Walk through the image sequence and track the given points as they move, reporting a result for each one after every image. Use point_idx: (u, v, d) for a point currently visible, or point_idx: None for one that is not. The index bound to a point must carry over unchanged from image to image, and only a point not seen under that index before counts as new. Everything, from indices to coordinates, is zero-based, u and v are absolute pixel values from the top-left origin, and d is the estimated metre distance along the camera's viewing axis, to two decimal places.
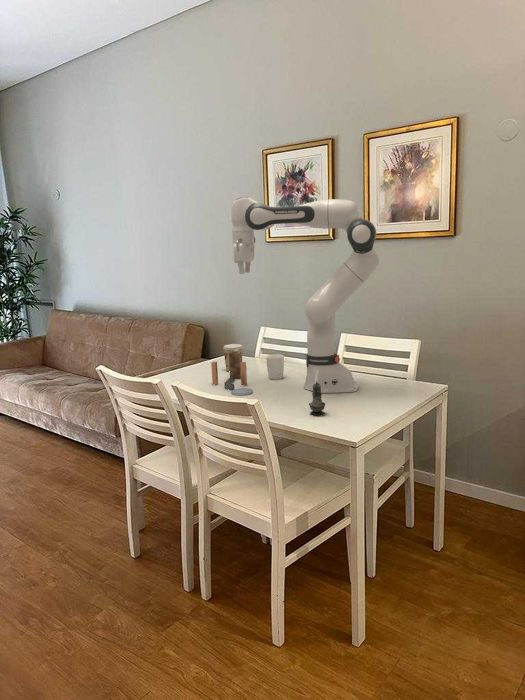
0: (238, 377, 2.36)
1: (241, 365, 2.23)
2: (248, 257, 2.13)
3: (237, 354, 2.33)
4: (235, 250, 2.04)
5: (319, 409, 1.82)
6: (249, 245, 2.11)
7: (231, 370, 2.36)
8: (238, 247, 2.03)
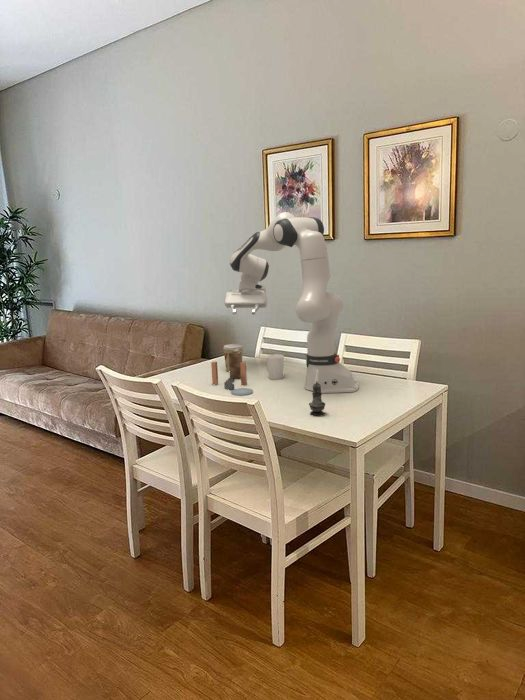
0: (238, 377, 2.36)
1: (241, 365, 2.23)
2: (245, 300, 2.45)
3: (237, 354, 2.33)
4: None
5: (319, 409, 1.82)
6: (243, 291, 2.47)
7: (231, 370, 2.36)
8: (226, 295, 2.51)
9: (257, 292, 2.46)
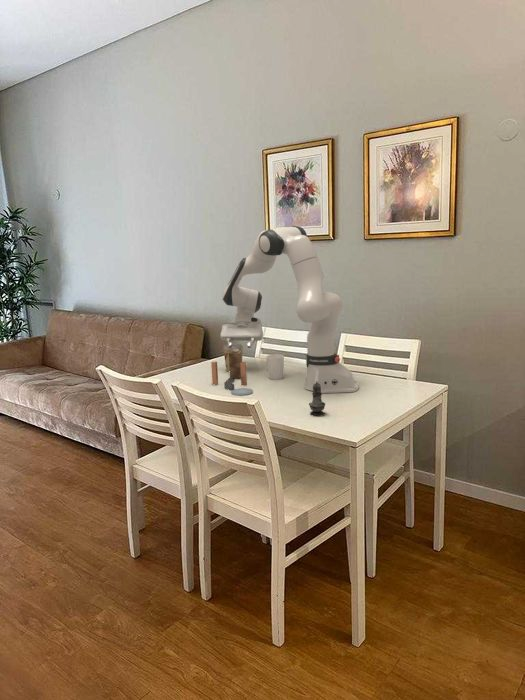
0: (238, 377, 2.36)
1: (241, 365, 2.23)
2: (240, 333, 2.45)
3: (237, 354, 2.33)
4: None
5: (319, 409, 1.82)
6: (238, 324, 2.47)
7: (231, 370, 2.36)
8: None
9: (253, 325, 2.46)
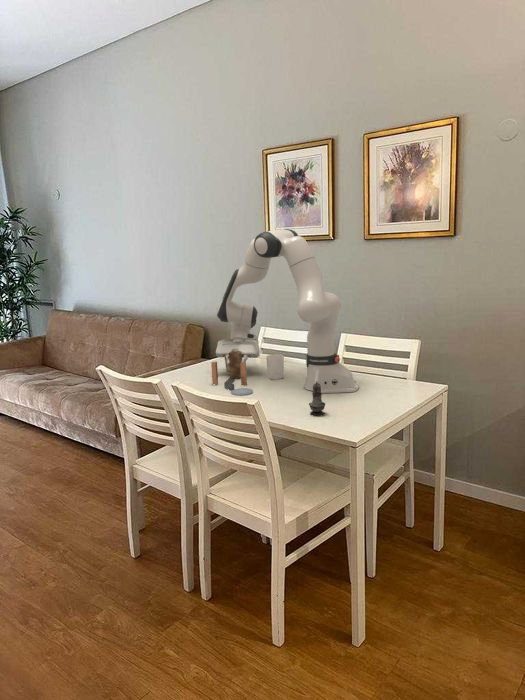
0: (238, 377, 2.36)
1: (241, 365, 2.23)
2: None
3: (237, 354, 2.33)
4: None
5: (319, 409, 1.82)
6: (234, 340, 2.41)
7: (231, 370, 2.36)
8: None
9: (249, 342, 2.39)
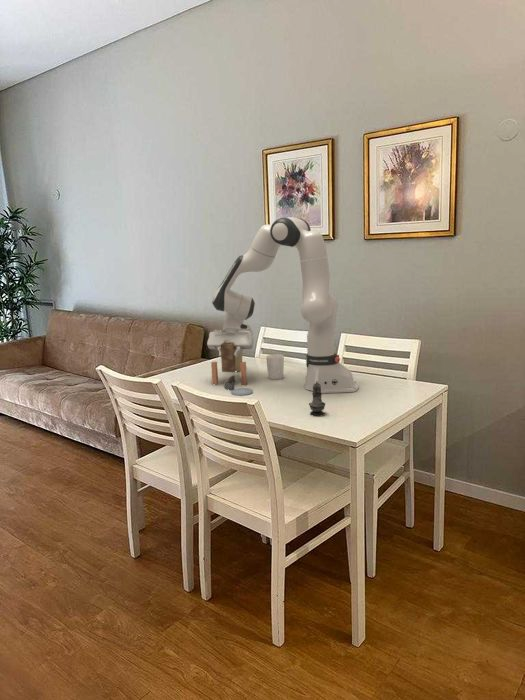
0: (230, 370, 2.23)
1: (241, 365, 2.23)
2: None
3: (229, 345, 2.21)
4: None
5: (319, 409, 1.82)
6: (227, 331, 2.28)
7: (223, 362, 2.23)
8: None
9: (242, 332, 2.27)
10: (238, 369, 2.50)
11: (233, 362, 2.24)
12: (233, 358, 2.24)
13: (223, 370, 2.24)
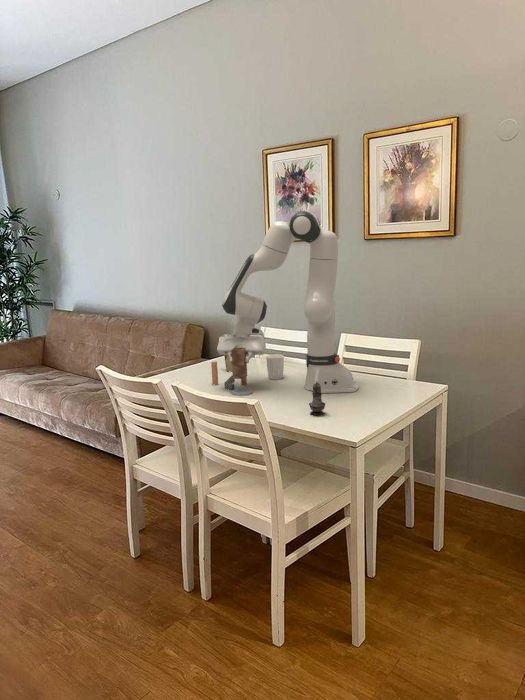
0: (242, 376, 2.12)
1: None
2: None
3: (241, 351, 2.09)
4: None
5: (319, 409, 1.82)
6: (238, 336, 2.16)
7: (234, 369, 2.12)
8: (219, 340, 2.20)
9: (254, 337, 2.15)
10: None
11: (245, 368, 2.12)
12: (245, 364, 2.12)
13: (234, 377, 2.12)
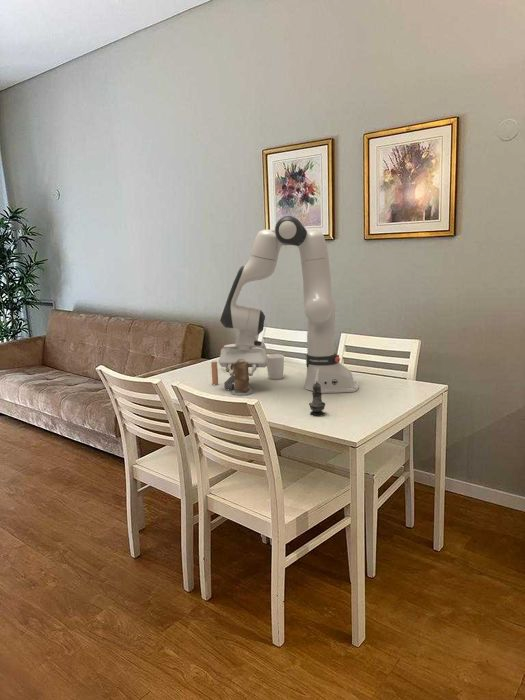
0: (244, 390, 2.12)
1: None
2: None
3: (243, 365, 2.10)
4: None
5: (319, 409, 1.82)
6: (240, 348, 2.17)
7: (236, 383, 2.12)
8: (221, 352, 2.20)
9: (256, 349, 2.15)
10: None
11: (247, 382, 2.13)
12: (247, 378, 2.13)
13: (236, 391, 2.12)
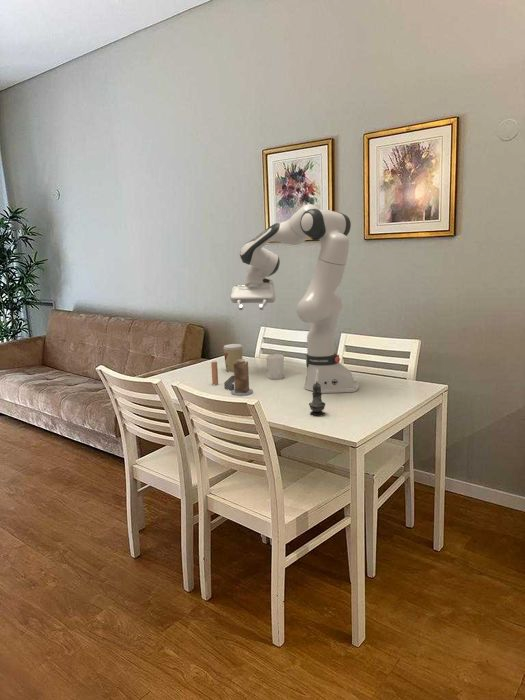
0: (244, 390, 2.12)
1: None
2: (252, 295, 2.33)
3: (243, 365, 2.10)
4: None
5: (319, 409, 1.82)
6: (250, 285, 2.35)
7: (236, 383, 2.12)
8: (232, 290, 2.39)
9: (265, 286, 2.34)
10: None
11: (247, 382, 2.13)
12: (247, 378, 2.13)
13: (236, 391, 2.12)
